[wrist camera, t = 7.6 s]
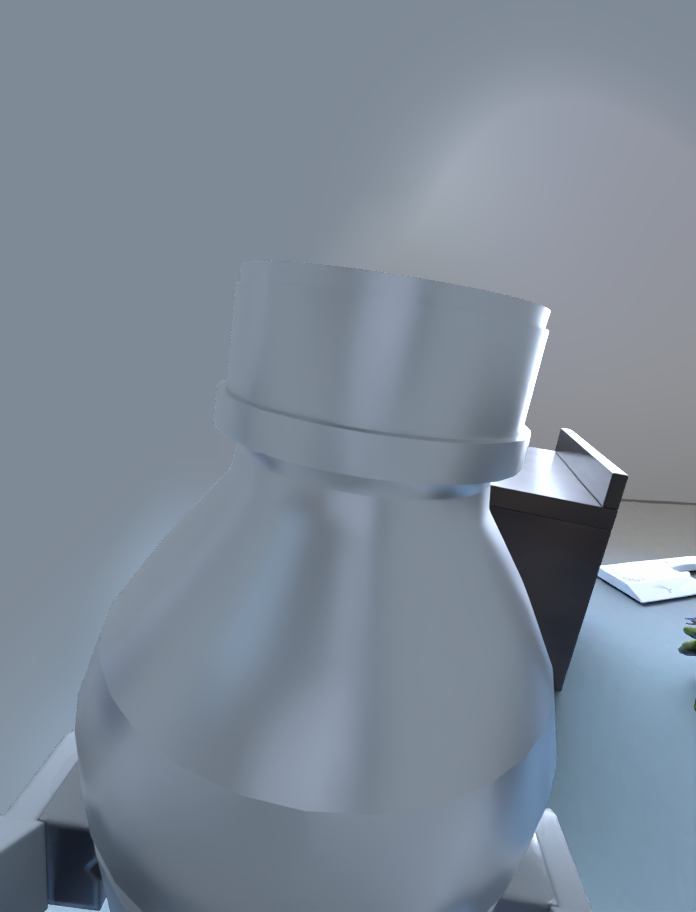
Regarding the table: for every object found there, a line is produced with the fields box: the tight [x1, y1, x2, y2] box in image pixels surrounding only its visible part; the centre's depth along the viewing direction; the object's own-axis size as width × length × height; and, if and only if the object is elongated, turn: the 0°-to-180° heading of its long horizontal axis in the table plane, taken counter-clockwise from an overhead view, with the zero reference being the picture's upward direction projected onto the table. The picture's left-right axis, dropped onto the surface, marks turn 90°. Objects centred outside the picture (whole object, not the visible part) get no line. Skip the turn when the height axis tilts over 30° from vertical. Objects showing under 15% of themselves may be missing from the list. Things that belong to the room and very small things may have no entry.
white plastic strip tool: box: [597, 556, 696, 603], centre depth 46 cm, size 5×15×1 cm, turn 112°
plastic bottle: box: [75, 260, 557, 912], centre depth 8 cm, size 6×7×20 cm
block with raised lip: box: [489, 428, 628, 691], centre depth 35 cm, size 14×14×14 cm
